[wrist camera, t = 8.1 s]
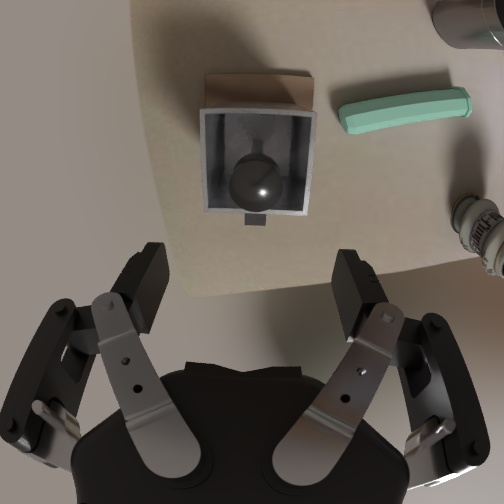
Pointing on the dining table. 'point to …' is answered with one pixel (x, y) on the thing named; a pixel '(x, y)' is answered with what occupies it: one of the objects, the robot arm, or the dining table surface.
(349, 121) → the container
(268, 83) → the walnut board
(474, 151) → the dining table surface
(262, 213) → the square mug
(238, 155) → the plunger
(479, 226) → the apothecary jar
